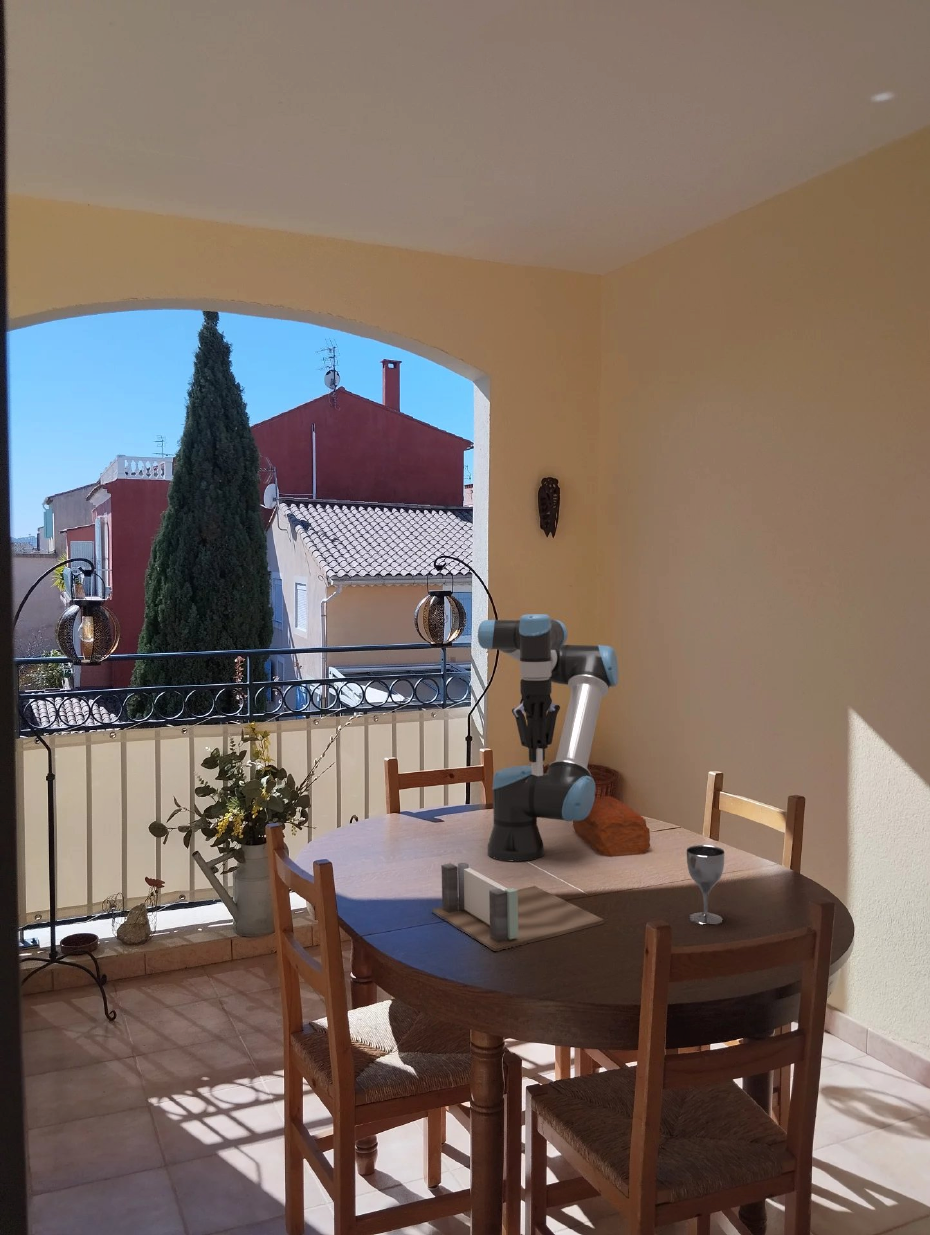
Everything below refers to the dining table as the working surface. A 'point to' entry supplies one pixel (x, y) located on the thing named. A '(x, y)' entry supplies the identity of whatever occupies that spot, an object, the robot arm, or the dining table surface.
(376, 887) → the dining table surface
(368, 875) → the dining table surface
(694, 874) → the wine glass
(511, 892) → the gate
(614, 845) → the bread
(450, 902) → the gate frame
